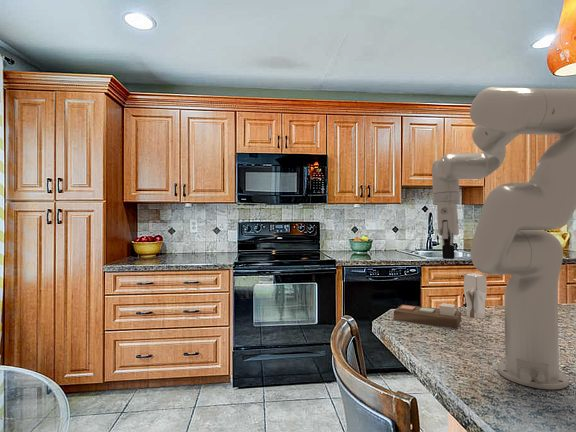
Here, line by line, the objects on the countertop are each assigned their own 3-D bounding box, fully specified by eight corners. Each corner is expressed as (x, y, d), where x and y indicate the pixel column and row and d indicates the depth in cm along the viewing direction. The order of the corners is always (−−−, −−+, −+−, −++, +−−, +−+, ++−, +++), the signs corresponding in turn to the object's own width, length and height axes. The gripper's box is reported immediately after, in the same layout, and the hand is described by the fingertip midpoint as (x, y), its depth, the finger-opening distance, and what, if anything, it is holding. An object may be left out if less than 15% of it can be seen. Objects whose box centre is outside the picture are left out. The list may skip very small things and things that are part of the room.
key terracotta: (412, 319, 117) (412, 309, 117) (400, 317, 119) (400, 307, 119) (415, 316, 120) (415, 306, 120) (403, 314, 122) (403, 305, 122)
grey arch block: (488, 317, 122) (487, 274, 122) (486, 322, 116) (485, 276, 116) (465, 315, 126) (464, 272, 126) (463, 319, 120) (462, 275, 120)
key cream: (453, 317, 110) (453, 307, 110) (439, 315, 112) (439, 305, 112) (455, 314, 113) (455, 304, 113) (441, 313, 116) (441, 303, 116)
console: (457, 332, 107) (457, 318, 107) (393, 322, 117) (393, 310, 117) (461, 323, 115) (461, 311, 115) (401, 315, 125) (401, 304, 125)
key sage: (432, 321, 113) (432, 311, 113) (419, 319, 115) (419, 310, 115) (434, 318, 117) (434, 309, 117) (422, 317, 119) (422, 307, 119)
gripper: (456, 196, 101) (459, 260, 100) (462, 200, 114) (464, 257, 113) (429, 198, 105) (431, 260, 104) (437, 202, 118) (439, 257, 117)
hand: (448, 258), depth 109 cm, fingers closed
